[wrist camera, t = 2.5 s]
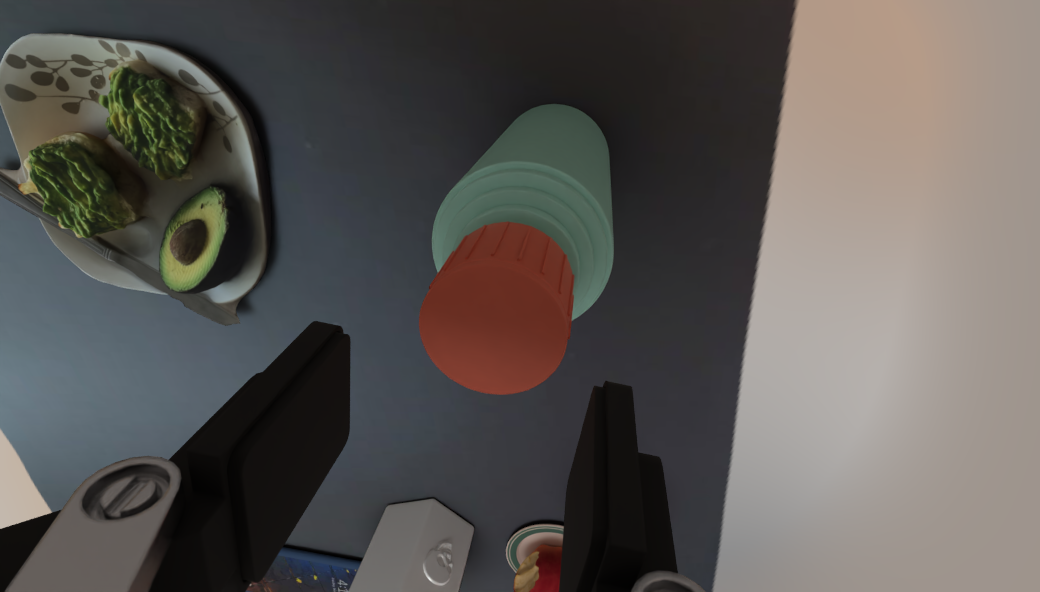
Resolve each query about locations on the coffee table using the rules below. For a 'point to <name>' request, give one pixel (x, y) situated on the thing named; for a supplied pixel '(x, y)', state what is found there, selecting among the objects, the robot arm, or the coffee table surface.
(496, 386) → the cap
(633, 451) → the robot arm
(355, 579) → the jar
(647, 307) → the coffee table surface
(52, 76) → the salad plate
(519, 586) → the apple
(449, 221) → the bottle
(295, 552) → the smartphone
